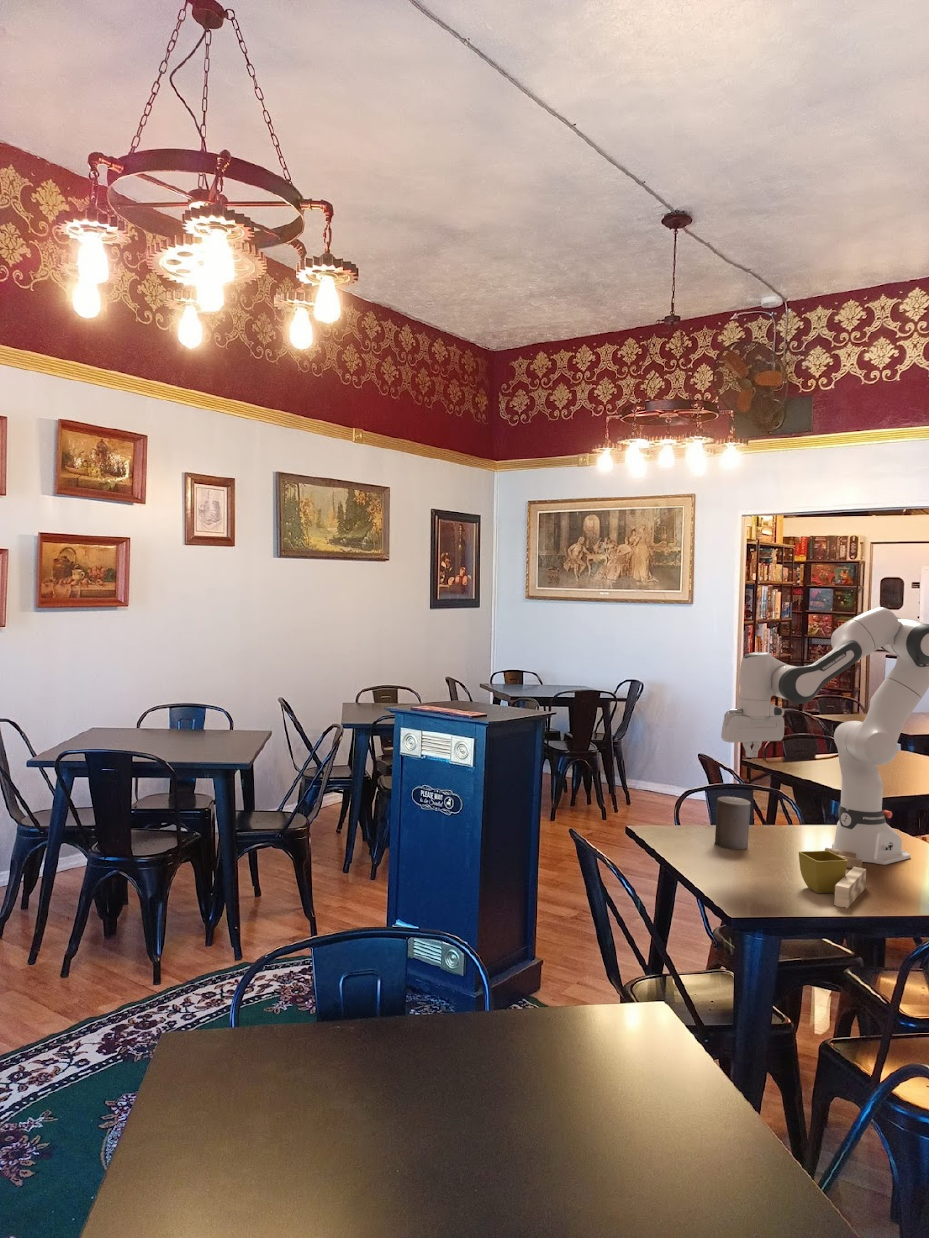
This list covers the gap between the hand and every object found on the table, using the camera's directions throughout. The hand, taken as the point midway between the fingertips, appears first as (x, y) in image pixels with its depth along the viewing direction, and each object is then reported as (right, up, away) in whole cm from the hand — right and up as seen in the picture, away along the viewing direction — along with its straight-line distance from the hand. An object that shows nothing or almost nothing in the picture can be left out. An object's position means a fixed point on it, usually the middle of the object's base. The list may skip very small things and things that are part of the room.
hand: (751, 757), depth 252 cm
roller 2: (+26, -28, -3) cm, 38 cm away
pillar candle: (-2, -29, +14) cm, 32 cm away
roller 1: (+27, -28, +4) cm, 39 cm away
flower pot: (+10, -30, -26) cm, 41 cm away
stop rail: (+15, -31, -30) cm, 45 cm away
